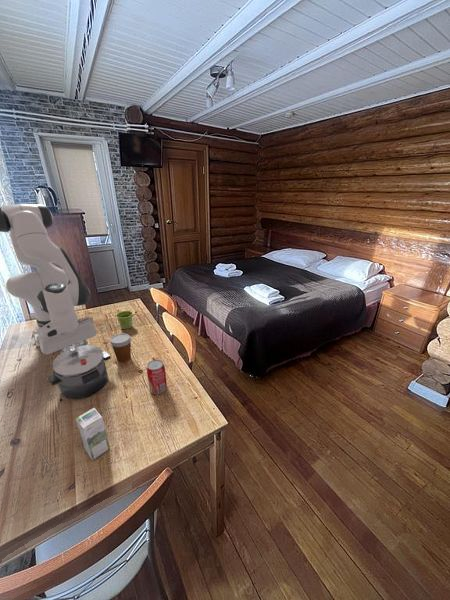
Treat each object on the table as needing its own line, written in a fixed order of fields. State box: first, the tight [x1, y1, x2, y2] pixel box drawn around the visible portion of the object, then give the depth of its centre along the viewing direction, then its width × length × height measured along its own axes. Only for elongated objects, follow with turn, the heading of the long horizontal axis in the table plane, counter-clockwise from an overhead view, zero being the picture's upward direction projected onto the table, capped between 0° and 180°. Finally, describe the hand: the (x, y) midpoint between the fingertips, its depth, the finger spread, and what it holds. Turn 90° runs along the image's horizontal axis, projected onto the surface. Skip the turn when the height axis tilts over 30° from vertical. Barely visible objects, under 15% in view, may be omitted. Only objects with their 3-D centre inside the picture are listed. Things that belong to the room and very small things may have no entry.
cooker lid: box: [52, 344, 104, 377], centre depth 105 cm, size 20×18×4 cm
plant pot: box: [115, 310, 134, 330], centre depth 153 cm, size 9×9×9 cm
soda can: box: [146, 359, 168, 395], centre depth 105 cm, size 7×7×13 cm
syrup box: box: [75, 407, 111, 461], centre depth 80 cm, size 6×6×14 cm
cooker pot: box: [46, 350, 111, 401], centre depth 107 cm, size 19×23×11 cm
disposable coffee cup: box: [109, 333, 132, 364], centre depth 124 cm, size 10×10×12 cm
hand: (73, 352), depth 107 cm, fingers closed, pressing on cooker lid
